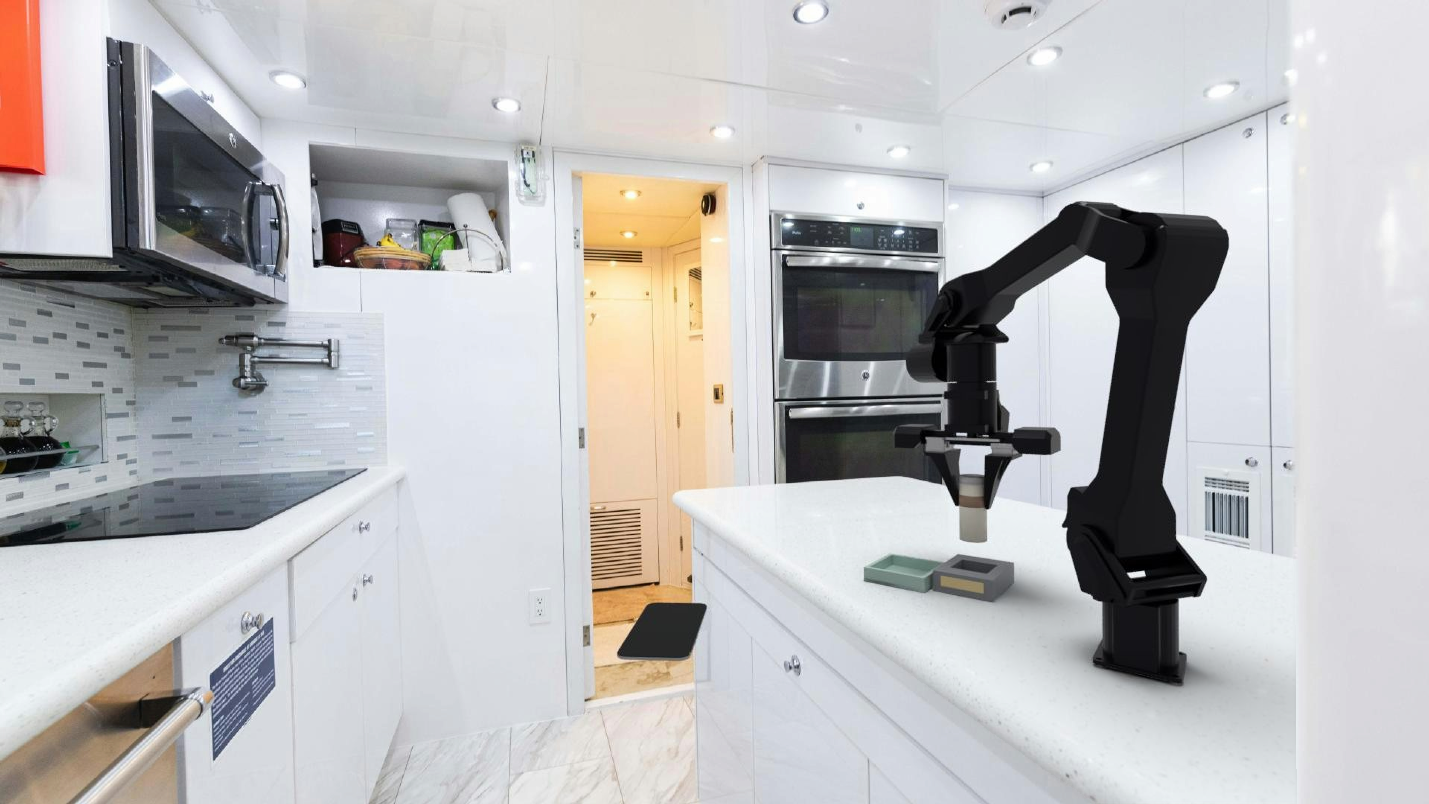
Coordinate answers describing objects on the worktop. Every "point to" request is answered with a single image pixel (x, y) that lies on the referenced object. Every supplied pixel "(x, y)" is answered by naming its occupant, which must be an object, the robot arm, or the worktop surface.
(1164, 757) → the worktop surface
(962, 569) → the fuse holder
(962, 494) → the fuse
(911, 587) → the parts tray
